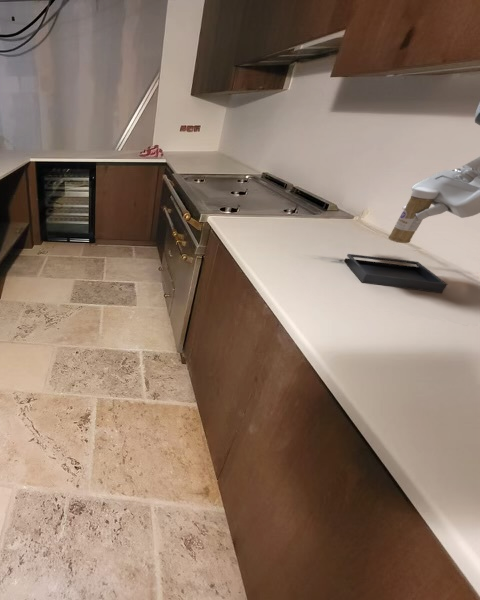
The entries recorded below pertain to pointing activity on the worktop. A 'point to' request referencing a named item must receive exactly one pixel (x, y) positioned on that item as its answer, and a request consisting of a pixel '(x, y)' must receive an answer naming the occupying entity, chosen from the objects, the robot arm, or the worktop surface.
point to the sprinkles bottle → (412, 214)
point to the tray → (395, 274)
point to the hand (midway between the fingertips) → (410, 213)
